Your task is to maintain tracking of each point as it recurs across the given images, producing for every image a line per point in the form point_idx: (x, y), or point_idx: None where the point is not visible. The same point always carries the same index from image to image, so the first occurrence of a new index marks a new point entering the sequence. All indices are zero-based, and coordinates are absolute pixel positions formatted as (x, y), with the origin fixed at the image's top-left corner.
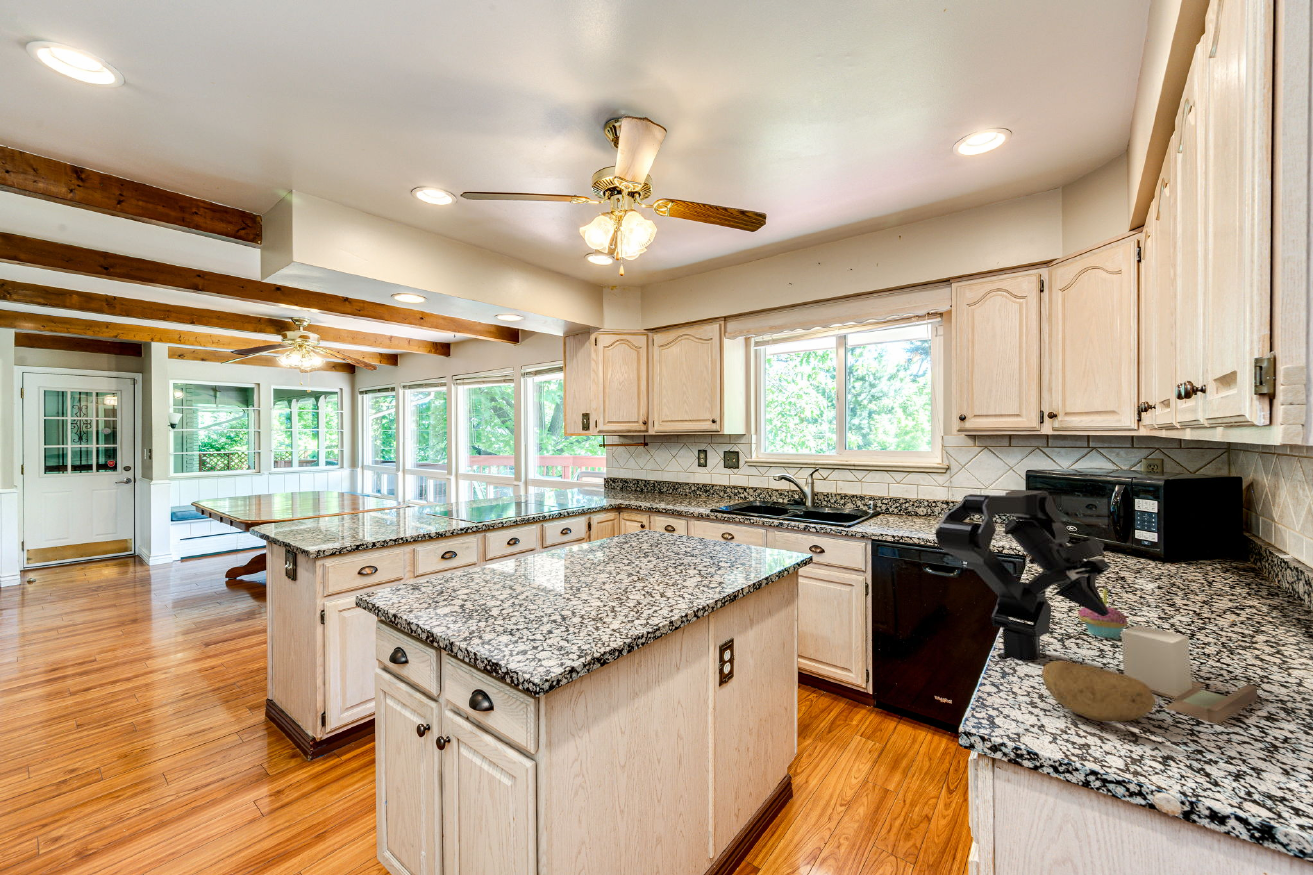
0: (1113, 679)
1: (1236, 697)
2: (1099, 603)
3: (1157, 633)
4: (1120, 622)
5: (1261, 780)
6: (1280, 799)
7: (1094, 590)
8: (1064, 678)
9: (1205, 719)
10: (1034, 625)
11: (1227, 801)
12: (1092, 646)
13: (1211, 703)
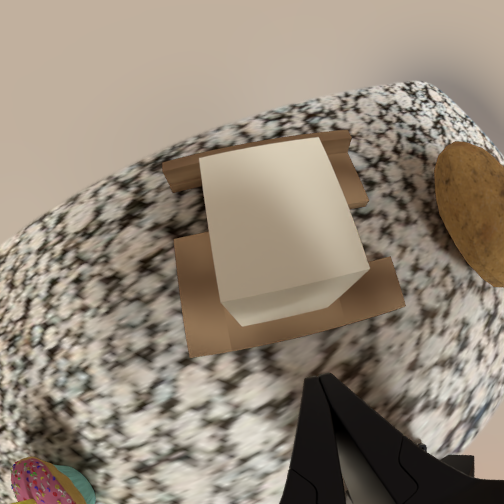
0: (500, 165)
1: (255, 143)
2: (354, 412)
3: (262, 203)
4: (43, 465)
5: (397, 101)
6: (407, 90)
7: (330, 500)
8: None
9: (343, 157)
10: (473, 463)
11: (448, 106)
12: (139, 488)
13: None
